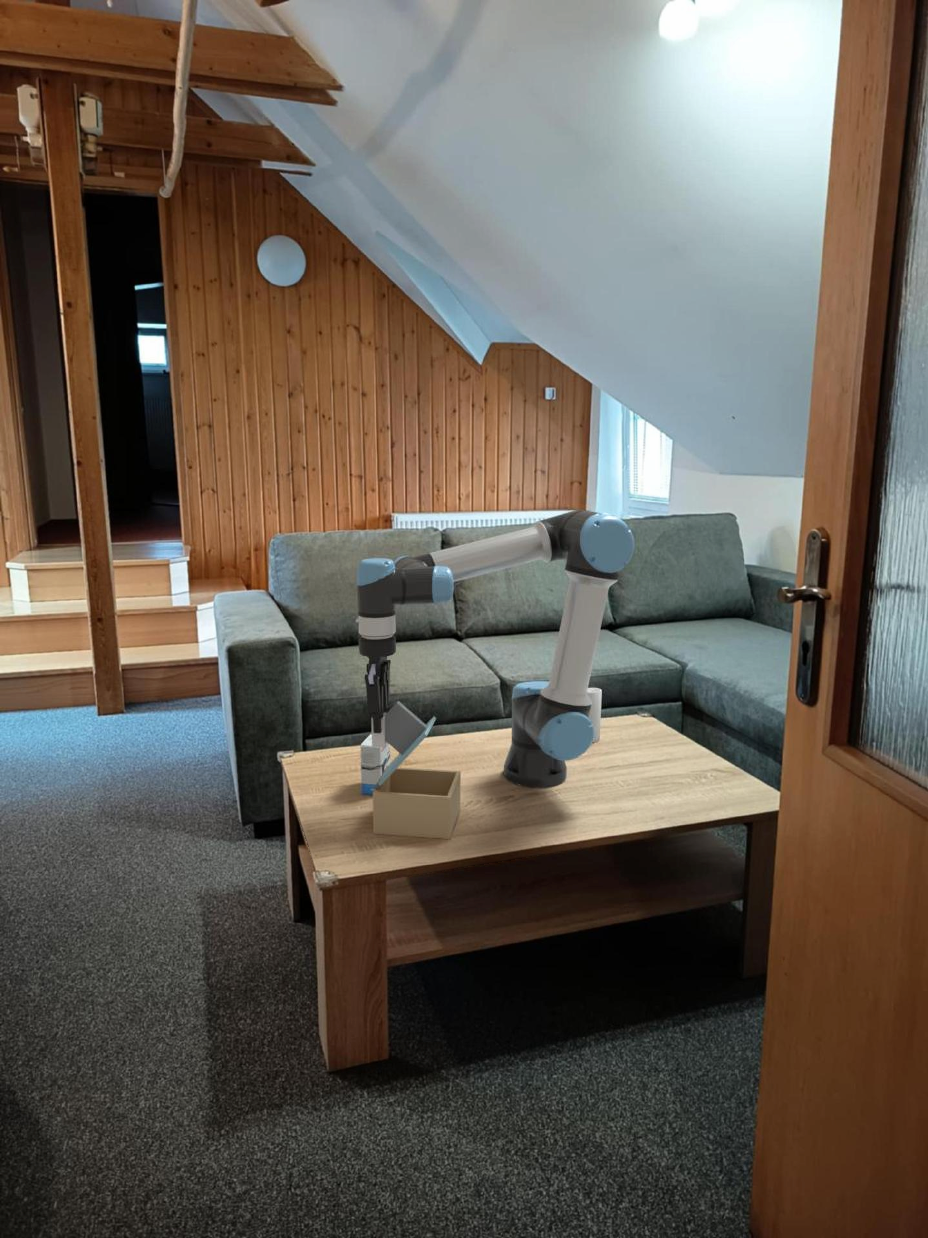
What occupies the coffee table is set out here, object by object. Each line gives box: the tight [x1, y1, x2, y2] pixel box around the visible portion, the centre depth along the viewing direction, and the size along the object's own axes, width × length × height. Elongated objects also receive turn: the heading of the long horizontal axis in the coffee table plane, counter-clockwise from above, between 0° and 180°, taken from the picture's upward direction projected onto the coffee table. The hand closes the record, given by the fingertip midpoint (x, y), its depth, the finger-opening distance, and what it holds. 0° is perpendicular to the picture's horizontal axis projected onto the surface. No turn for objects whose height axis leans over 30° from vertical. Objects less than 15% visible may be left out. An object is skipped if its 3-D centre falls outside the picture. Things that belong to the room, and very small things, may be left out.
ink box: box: [360, 733, 391, 796], centre depth 197 cm, size 8×5×12 cm, turn 168°
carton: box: [372, 767, 462, 840], centre depth 180 cm, size 16×14×9 cm
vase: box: [587, 687, 603, 743], centre depth 229 cm, size 11×7×20 cm, turn 111°
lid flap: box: [375, 700, 437, 790], centre depth 178 cm, size 16×11×9 cm
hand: (380, 744), depth 179 cm, fingers closed on lid flap, 1 cm apart
